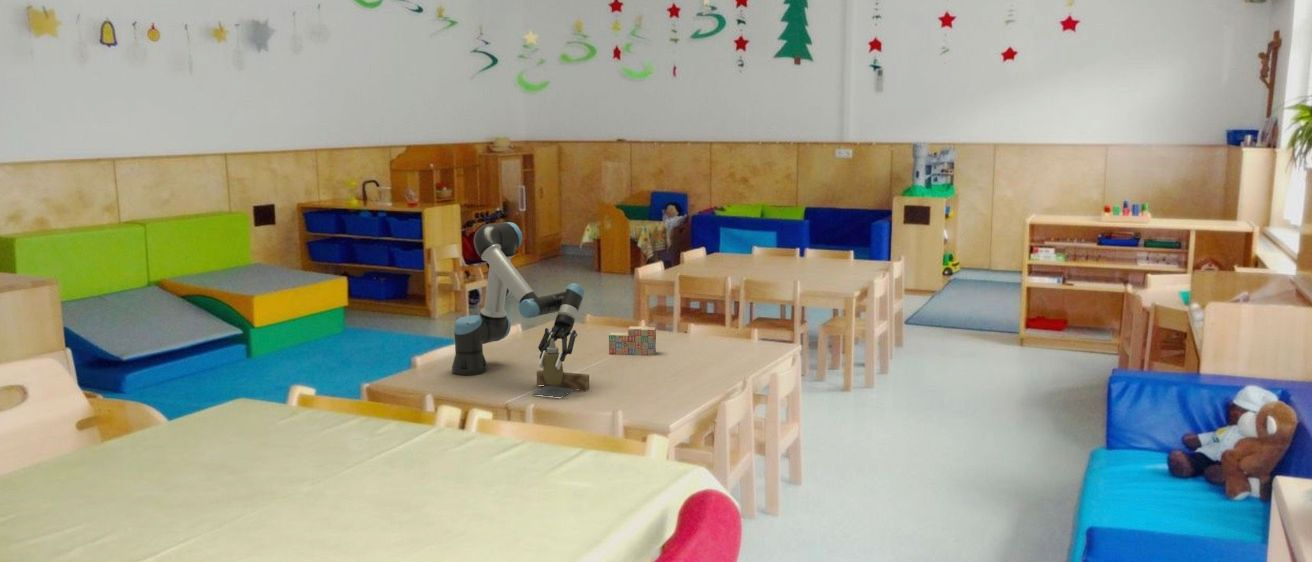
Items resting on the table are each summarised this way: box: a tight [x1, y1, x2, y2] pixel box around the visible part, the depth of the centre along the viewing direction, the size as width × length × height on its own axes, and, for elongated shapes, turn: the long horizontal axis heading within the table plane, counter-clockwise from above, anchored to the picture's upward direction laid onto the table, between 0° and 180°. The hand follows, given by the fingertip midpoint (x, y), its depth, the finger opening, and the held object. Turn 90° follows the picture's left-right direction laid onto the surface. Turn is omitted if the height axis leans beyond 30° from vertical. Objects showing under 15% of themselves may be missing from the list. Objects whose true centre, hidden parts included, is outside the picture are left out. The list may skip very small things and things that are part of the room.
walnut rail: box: [536, 369, 590, 391], centre depth 394 cm, size 22×3×6 cm, turn 70°
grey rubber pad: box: [532, 386, 574, 398], centre depth 386 cm, size 12×12×1 cm
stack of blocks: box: [608, 326, 657, 356], centre depth 451 cm, size 21×6×12 cm, turn 84°
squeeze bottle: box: [542, 339, 564, 385], centre depth 384 cm, size 8×8×18 cm
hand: (548, 367), depth 381 cm, fingers closed on squeeze bottle, 6 cm apart
